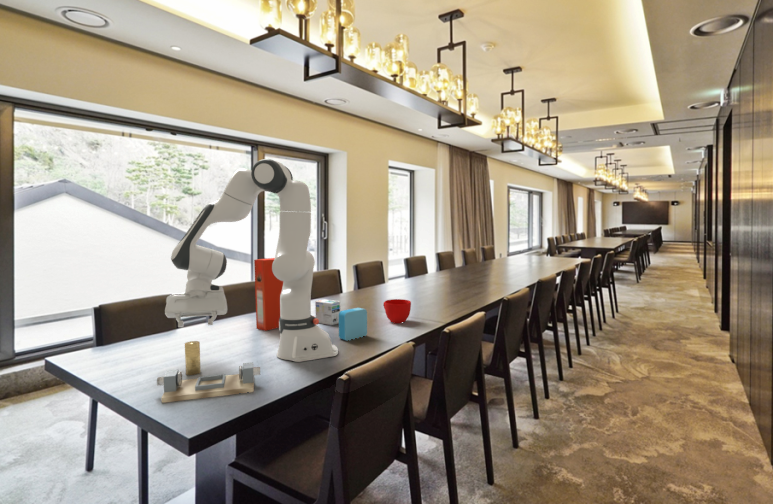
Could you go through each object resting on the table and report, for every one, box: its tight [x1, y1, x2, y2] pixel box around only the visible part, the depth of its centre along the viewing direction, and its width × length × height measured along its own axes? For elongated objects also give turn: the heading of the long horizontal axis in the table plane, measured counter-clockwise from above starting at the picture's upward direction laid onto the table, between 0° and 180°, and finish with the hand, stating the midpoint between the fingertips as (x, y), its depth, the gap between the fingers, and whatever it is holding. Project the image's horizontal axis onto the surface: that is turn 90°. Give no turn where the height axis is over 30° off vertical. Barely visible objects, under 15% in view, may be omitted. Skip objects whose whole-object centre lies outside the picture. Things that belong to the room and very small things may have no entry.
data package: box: [338, 307, 368, 342], centre depth 176 cm, size 12×4×12 cm, turn 133°
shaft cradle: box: [156, 362, 261, 404], centre depth 123 cm, size 28×12×6 cm, turn 107°
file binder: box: [253, 257, 283, 332], centre depth 195 cm, size 8×17×32 cm, turn 139°
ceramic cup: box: [383, 298, 412, 324], centre depth 205 cm, size 13×17×10 cm
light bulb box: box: [314, 298, 341, 326], centre depth 202 cm, size 11×7×11 cm, turn 58°
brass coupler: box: [184, 340, 202, 376], centre depth 136 cm, size 4×4×10 cm
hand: (195, 325), depth 144 cm, fingers open, 8 cm apart
